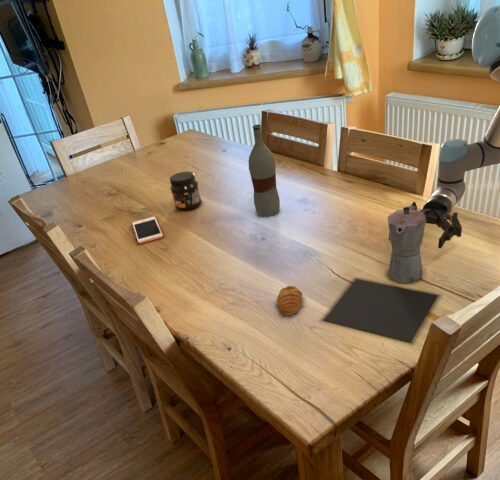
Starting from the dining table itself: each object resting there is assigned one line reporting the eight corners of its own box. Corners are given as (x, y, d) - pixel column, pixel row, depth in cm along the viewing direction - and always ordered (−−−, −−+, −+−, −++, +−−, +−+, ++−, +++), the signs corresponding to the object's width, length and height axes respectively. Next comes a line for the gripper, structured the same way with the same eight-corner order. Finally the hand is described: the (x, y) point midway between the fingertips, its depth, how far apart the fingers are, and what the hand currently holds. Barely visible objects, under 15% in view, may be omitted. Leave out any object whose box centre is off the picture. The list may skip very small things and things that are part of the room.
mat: (437, 295, 125) (437, 295, 125) (410, 342, 113) (410, 342, 113) (356, 279, 136) (356, 278, 136) (323, 320, 124) (323, 319, 124)
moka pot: (380, 287, 132) (381, 217, 119) (393, 257, 142) (395, 191, 130) (417, 291, 128) (422, 220, 115) (428, 260, 138) (433, 192, 126)
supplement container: (170, 208, 194) (162, 178, 186) (191, 198, 199) (184, 169, 191) (186, 214, 187) (178, 183, 180) (207, 203, 192) (201, 173, 185)
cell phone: (155, 218, 188) (154, 216, 188) (163, 237, 174) (162, 235, 174) (132, 224, 187) (131, 222, 186) (138, 244, 173) (138, 241, 172)
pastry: (303, 315, 127) (301, 303, 124) (276, 318, 128) (275, 306, 125) (302, 295, 134) (301, 283, 132) (277, 297, 135) (276, 285, 133)
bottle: (284, 213, 175) (274, 126, 157) (259, 220, 174) (246, 132, 156) (276, 204, 182) (266, 119, 164) (252, 210, 181) (239, 125, 163)
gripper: (481, 223, 144) (460, 259, 131) (397, 213, 157) (371, 245, 144) (485, 199, 139) (463, 234, 127) (398, 190, 152) (371, 221, 139)
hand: (414, 240), depth 135 cm, fingers open, 13 cm apart
